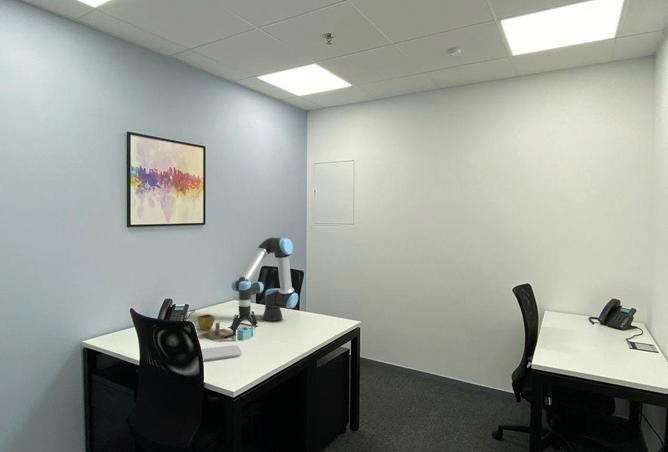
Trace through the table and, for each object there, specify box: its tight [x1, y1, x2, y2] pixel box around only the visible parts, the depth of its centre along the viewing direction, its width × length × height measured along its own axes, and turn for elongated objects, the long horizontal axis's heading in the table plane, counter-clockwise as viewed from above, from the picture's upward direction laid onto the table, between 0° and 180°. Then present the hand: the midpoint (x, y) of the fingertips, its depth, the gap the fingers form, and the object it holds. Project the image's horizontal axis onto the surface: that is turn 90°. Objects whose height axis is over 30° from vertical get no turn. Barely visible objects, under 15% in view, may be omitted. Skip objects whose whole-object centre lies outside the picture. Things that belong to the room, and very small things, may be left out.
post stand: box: [200, 322, 234, 341], centre depth 254 cm, size 16×14×8 cm
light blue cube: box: [237, 326, 252, 341], centre depth 249 cm, size 6×6×6 cm
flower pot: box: [197, 313, 215, 331], centre depth 266 cm, size 9×9×9 cm
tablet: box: [201, 344, 243, 363], centre depth 218 cm, size 16×26×2 cm, turn 115°
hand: (244, 337), depth 249 cm, fingers open, 13 cm apart
